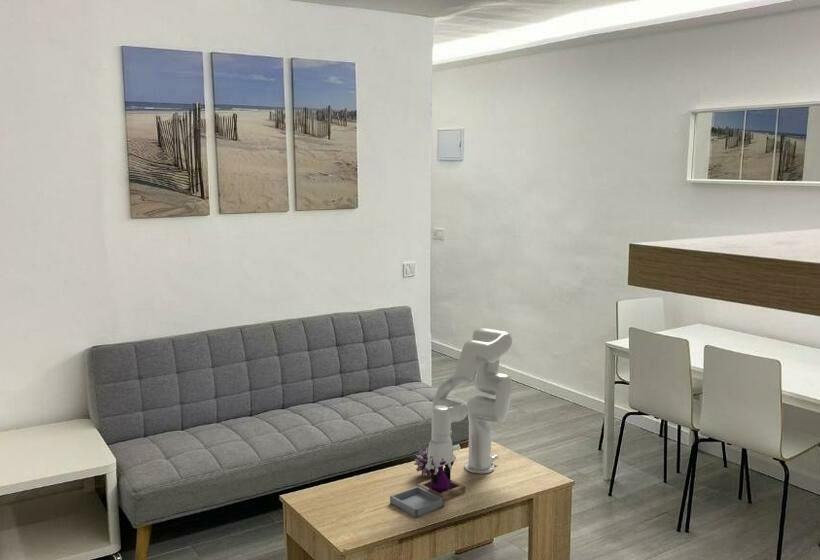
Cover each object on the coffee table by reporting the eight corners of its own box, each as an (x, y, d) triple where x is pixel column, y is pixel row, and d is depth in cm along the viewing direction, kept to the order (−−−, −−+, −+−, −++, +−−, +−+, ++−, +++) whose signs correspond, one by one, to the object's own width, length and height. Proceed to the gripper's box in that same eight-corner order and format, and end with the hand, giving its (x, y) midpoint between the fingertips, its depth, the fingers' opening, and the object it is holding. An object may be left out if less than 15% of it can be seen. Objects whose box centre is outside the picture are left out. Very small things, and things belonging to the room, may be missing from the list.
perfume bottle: (448, 496, 288) (449, 452, 286) (429, 494, 290) (430, 450, 287) (451, 488, 296) (452, 445, 293) (432, 486, 297) (433, 443, 294)
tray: (417, 493, 291) (417, 485, 290) (443, 506, 280) (444, 499, 279) (390, 503, 282) (390, 496, 281) (415, 517, 271) (415, 509, 270)
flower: (448, 475, 308) (448, 448, 306) (429, 484, 299) (429, 456, 297) (427, 467, 315) (427, 441, 313) (408, 476, 306) (408, 449, 305)
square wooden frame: (441, 481, 302) (441, 475, 302) (465, 492, 292) (465, 486, 292) (416, 490, 293) (416, 484, 293) (439, 502, 283) (439, 496, 283)
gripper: (450, 429, 298) (450, 471, 300) (418, 439, 286) (418, 483, 289) (463, 434, 292) (463, 477, 295) (431, 445, 281) (430, 489, 284)
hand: (440, 480), depth 292 cm, fingers closed on perfume bottle, 6 cm apart
